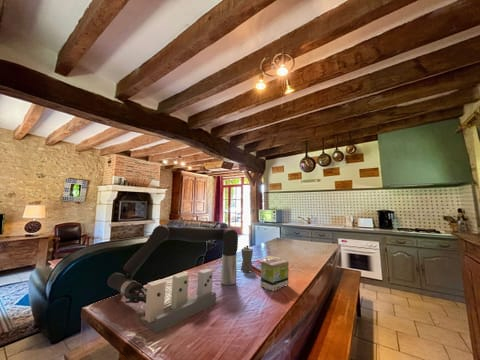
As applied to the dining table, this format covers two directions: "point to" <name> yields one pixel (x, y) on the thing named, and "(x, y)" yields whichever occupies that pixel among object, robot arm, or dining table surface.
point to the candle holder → (271, 257)
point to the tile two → (179, 290)
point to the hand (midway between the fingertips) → (149, 300)
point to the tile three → (204, 282)
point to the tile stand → (180, 312)
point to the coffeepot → (247, 259)
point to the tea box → (274, 274)
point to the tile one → (155, 299)
